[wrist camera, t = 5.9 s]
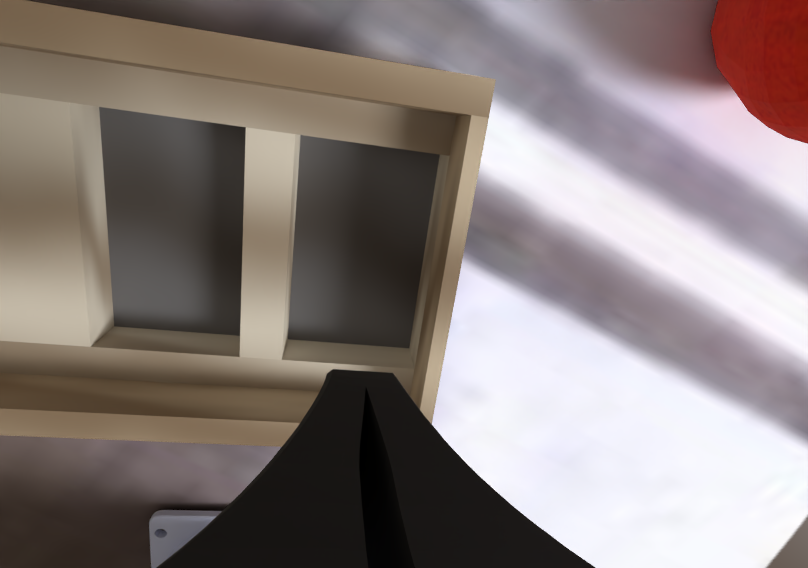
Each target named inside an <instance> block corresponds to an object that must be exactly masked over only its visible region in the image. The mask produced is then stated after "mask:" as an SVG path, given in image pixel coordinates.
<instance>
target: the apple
mask: <svg viewBox="0 0 808 568" xmlns="http://www.w3.org/2000/svg"><path fill="white" fill-rule="evenodd" d="M711 37H712V42H713V48H714V53H715V59H716V64H717V68H718V69H719V70H720V72H721V73H722V74H723V76H724V77H725V78H726V80H727V81H728V82H729V84H730V85H731V87H732V88H733V90H734V91H735V92H736V94H737V95H738V97H739V98H740V100H741V101H742V103H743V104H744V105H745V107H746V108H747V110H748V111H749V112H750V113H751V114H752V115H753V116H755V117H756V118H757V119H758V120H760V121H761V122H762V123H763V124H765V125H766V126H767V127H769V128H771V129H772V130H774V131H776V132H778V133H780V134H782V135H783V136H785V137H787V138H791V139H794V140H797V141H801V142H804V143H808V0H718V3H717V7H716V11H715V15H714V19H713V23H712V27H711Z"/></svg>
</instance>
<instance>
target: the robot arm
mask: <svg viewBox="0 0 808 568" xmlns="http://www.w3.org/2000/svg"><path fill="white" fill-rule="evenodd" d="M161 529H164V530H165V531H164V530H161ZM149 534H150V554H151V568H595V567H594V566H592V565H591V564H589V563H588V562H586V561H585V560H583V559H582V558H581V557H579V556H578V555H576V554H575V553H573V552H572V551H570V550H569V549H568V548H566V547H565V546H563V545H562V544H561V543H559V542H558V541H557V540H556V539H554V538H553V537H552V536H550V535H549V534H548V533H546V532H545V531H544V530H542V529H541V528H540V527H538V526H537V525H536V524H534V523H533V522H532V521H530V520H529V519H528V518H527V517H525V516H524V515H523V514H522V513H520V512H519V511H518V510H517V509H516V508H514V507H513V506H512V505H511V504H510V503H508V502H507V501H506V500H505V499H504V498H503V497H502V496H501V495H499V494H498V493H497V492H496V491H495V490H494V489H493V488H492V487H490V486H489V485H488V484H487V483H486V482H485V481H484V480H483V479H482V478H481V477H479V476H478V475H477V474H476V473H475V472H474V471H473V470H472V469H471V468H470V467H469V466H468V465H467V464H466V463H465V462H464V461H463V459H462V458H461V457H460V456H459V455H458V454H457V453H456V452H455V451H454V450H453V449H452V448H451V447H450V446H449V445H448V443H447V442H446V441H445V440H444V439H443V438H442V436H441V435H440V434H439V433H438V432H437V430H436V429H435V428H434V427H433V426H432V424H431V423H430V422H429V421H428V419H427V418H426V417H425V416H424V414H423V413H422V412H421V410H420V409H419V408H418V406H417V405H416V404H415V402H414V401H413V400H412V398H411V397H410V396H409V394H408V393H407V391H406V390H405V389H404V387H403V386H402V384H401V383H400V382H399V380H398V379H397V377H396V376H395V375H394V374H393V373H389V372H372V371H356V370H340V369H332V370H331V371H330V372H328V373H327V375H326V378H325V381H324V384H323V386H322V388H321V390H320V392H319V394H318V395H317V397H316V399H315V401H314V402H313V404H312V406H311V407H310V409H309V410H308V412H307V413H306V415H305V416H304V418H303V419H302V421H301V422H300V424H299V425H298V427H297V428H296V429H295V431H294V432H293V433H292V435H291V436H290V437H289V439H288V440H287V441H286V442H285V444H284V445H283V446H282V447H281V449H280V450H279V451H278V453H277V454H276V455H275V456H274V458H273V459H272V460H271V461H270V462H269V463H268V465H267V466H266V467H265V468H264V469H263V470H262V471H261V472H260V474H259V475H258V476H257V477H256V478H255V479H254V480H253V481H252V482H251V483H250V484H249V485H248V486H247V487H246V488H245V489H244V490H243V491H242V493H241V494H240V495H239V496H238V497H237V498H236V499H235V500H234V501H232V502H231V503H230V504H229V505H228V506H227V507H226V508H225V509H224V510H223V511H193V510H159V511H157V512H155V513H154V514H153V515H152V517H151V519H150V521H149Z"/></svg>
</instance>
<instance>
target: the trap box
mask: <svg viewBox="0 0 808 568" xmlns="http://www.w3.org/2000/svg"><path fill="white" fill-rule="evenodd" d="M495 81H496V79H490V78H484V77H478V76H473V75H467V74H461V73H455V72H450V71H444V70H438V69H432V68H426V67H420V66H414V65H408V64H402V63H396V62H390V61H384V60H378V59H372V58H366V57H360V56H354V55H348V54H342V53H337V52H331V51H325V50H319V49H313V48H307V47H301V46H295V45H289V44H283V43H277V42H271V41H265V40H259V39H253V38H247V37H241V36H235V35H229V34H223V33H218V32H212V31H206V30H200V29H194V28H188V27H182V26H176V25H170V24H164V23H158V22H152V21H146V20H140V19H134V18H128V17H122V16H116V15H110V14H105V13H99V12H93V11H87V10H81V9H75V8H69V7H63V6H57V5H51V4H45V3H39V2H33V1H27V0H0V435H9V436H33V437H58V438H83V439H107V440H132V441H157V442H181V443H206V444H231V445H255V446H280V447H282V446H283V445H284V444H285V442H286V441H287V440H288V439H289V437H290V436H291V435H292V433H293V432H294V431H295V429H296V428H297V427H298V425H299V424H300V422H301V421H302V419H303V418H304V416H305V415H306V413H307V412H308V410H309V409H310V407H311V406H312V404H313V402H314V401H315V399H316V397H317V395H318V394H319V392H320V390H321V388H322V386H323V384H324V381H325V378H326V375H327V373H328V372H330V371H331V370H332V369H340V370H356V371H372V372H389V373H393V374H394V375H395V376H396V377H397V379H398V380H399V382H400V383H401V384H402V386H403V387H404V389H405V390H406V391H407V393H408V394H409V396H410V397H411V398H412V400H413V401H414V402H415V404H416V405H417V406H418V408H419V409H420V410H421V412H422V413H423V414H424V416H425V417H426V418H427V419H428V421H429V422H430V423H431V424H432V419H433V414H434V408H435V403H436V397H437V392H438V387H439V381H440V376H441V371H442V365H443V360H444V355H445V349H446V344H447V338H448V333H449V328H450V322H451V317H452V312H453V306H454V301H455V295H456V290H457V285H458V279H459V274H460V269H461V263H462V258H463V252H464V247H465V242H466V236H467V231H468V226H469V220H470V215H471V209H472V204H473V199H474V193H475V188H476V183H477V177H478V172H479V166H480V161H481V156H482V150H483V145H484V140H485V134H486V129H487V124H488V118H489V113H490V107H491V102H492V97H493V91H494V86H495Z"/></svg>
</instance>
